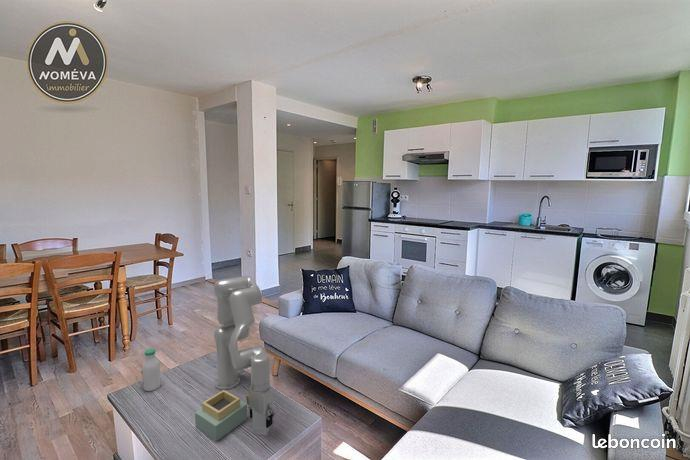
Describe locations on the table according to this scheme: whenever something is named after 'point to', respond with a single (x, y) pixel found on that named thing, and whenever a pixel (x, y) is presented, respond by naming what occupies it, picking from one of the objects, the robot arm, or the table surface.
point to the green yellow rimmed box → (220, 415)
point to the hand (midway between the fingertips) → (261, 421)
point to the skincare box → (259, 423)
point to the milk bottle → (151, 371)
